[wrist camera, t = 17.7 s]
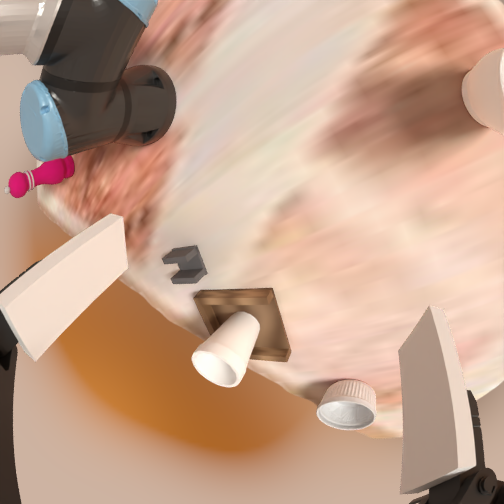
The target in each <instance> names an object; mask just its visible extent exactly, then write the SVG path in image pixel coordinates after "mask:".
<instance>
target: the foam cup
mask: <svg viewBox="0 0 504 504" xmlns="http://www.w3.org/2000/svg"><path fill="white" fill-rule="evenodd" d="M259 330H260V324H259V323H258V321H257V319H256V318H254V317H253V316H252V315H251V314H248V313H246V312H236V313H234V314H233V315H232V316H231V317H230V318H229V319H228V320H227V321H225V322H224V323H223V324H222V325H221V326H220V327H219V328H218V329H217V330H216V331H215V332H214V333H213V334H212V335H211V336H210V337H209V338H208V339H207V340H206V341H205V342H204V343H203V344H200V345H199V347H198V348H197V349H196V351H195V352H194V353H193V356H192V362H193V364H194V367H195V368H196V369H197V370H198V372H199V373H200V374H201V375H202V376H204V377H205V378H206V379H208V380H209V381H211V382H213V383H215V384H217V385H219V386H225V387H234V386H237V385H238V384H239V382H240V381H241V379H242V377H243V376H244V373H245V372H246V367H247V364H248V361H249V359H250V356H251V353H252V350H253V348H254V345H255V342H256V339H257V337H258V334H259Z"/></svg>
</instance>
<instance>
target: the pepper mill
mask: <svg viewBox="0 0 504 504" xmlns="http://www.w3.org/2000/svg"><path fill="white" fill-rule="evenodd" d="M73 173H74V161H73V159H72V157H71V155H70V156H67V157H65V158H63V159H62V158H59V159H55V160H51V161H47V162H44V163H43V164H42V165H41V166H40V167H38V168H36V169H34V170H31V171H30V170H27V171H24V173H21V172H16V173H15V174H13V175H12V176H11V177H10V179H9V186H6V187H5V188H4V192H5V193H6V194H8V193H11V195H12V196H13V197H15V198H20V197H23V196H24V195H25V193H26V192H27V191H30V190H33V189H34V187H35V186H37V185H41V184H51V185H52V184H58V183H60V182H62V180H63V179H64V178H68V177H71V176H72V175H73Z"/></svg>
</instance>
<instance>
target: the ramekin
mask: <svg viewBox="0 0 504 504" xmlns="http://www.w3.org/2000/svg"><path fill="white" fill-rule="evenodd" d="M317 416H318V418H319V419H320V420H321V421H322V422H323V423H325V424H326V425H329V426H331V427H333V428H337V429H343V430H358V429H363V428H366V427H368V426H370V425H371V424H372V423H373V422H374V421H375V418H376V395H375V392H374V390H373V388H372V387H371V386H370V385H368V384H367V383H365V382H362V381H359V380H351V379H348V380H341V381H338V382H336V383H334V384H332V385H331V386H330V387H329V388H328V389H327V391H326V392H325V394H324V397H323V399H322V401H321V402H320V404H319V405H318V407H317Z"/></svg>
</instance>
